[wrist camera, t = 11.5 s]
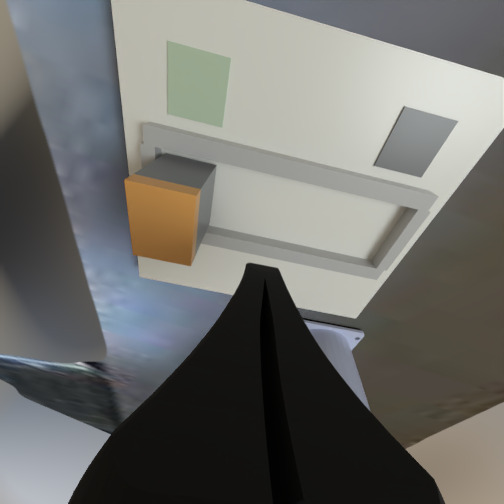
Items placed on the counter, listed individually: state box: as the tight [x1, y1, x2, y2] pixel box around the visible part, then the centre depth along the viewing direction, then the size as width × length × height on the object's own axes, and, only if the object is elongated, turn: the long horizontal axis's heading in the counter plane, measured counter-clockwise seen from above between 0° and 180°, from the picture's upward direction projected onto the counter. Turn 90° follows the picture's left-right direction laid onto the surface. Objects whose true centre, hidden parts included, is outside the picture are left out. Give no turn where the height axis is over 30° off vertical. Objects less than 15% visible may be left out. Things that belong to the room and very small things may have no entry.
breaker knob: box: [124, 153, 217, 266], centre depth 13 cm, size 4×3×5 cm
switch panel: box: [111, 0, 504, 318], centre depth 16 cm, size 18×20×2 cm
